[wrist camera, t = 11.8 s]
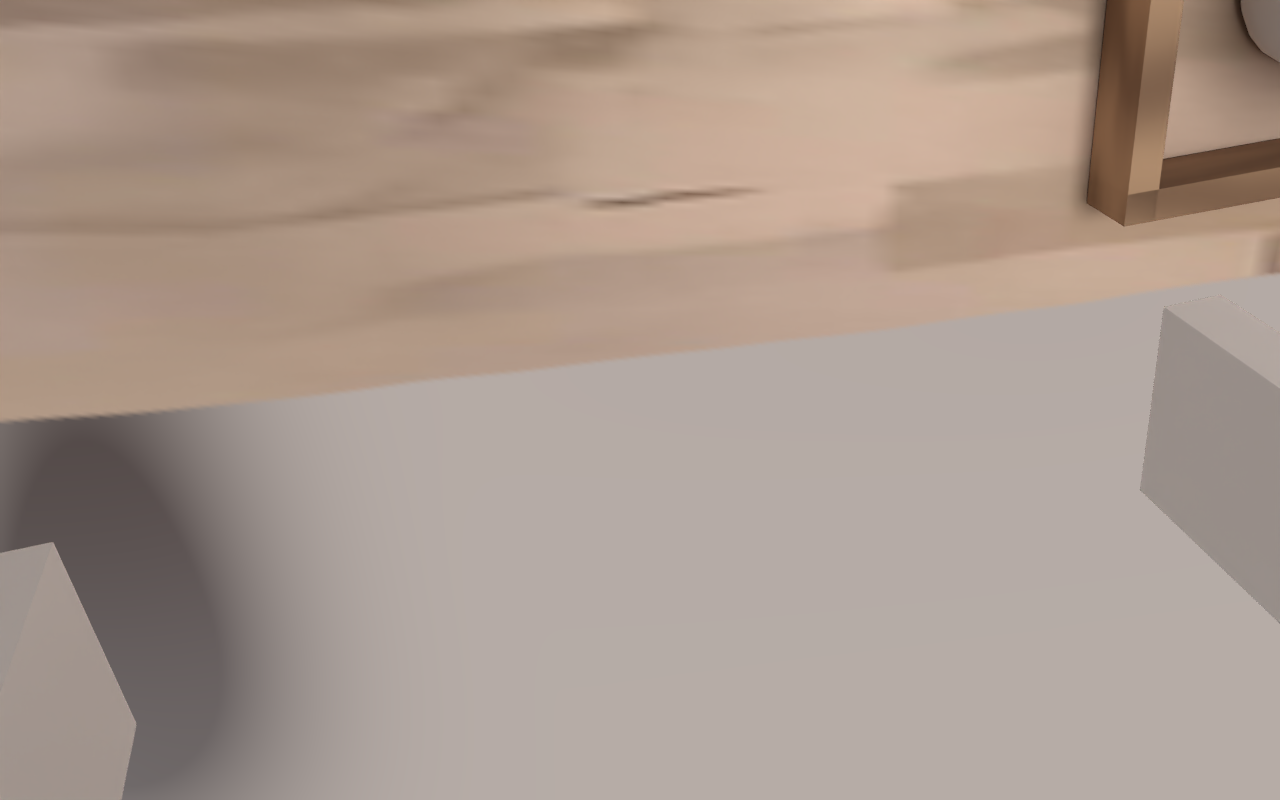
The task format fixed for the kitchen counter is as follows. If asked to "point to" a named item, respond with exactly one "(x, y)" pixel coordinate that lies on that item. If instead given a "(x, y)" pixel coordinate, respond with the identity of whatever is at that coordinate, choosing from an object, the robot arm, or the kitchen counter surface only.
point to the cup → (1263, 24)
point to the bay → (1160, 129)
